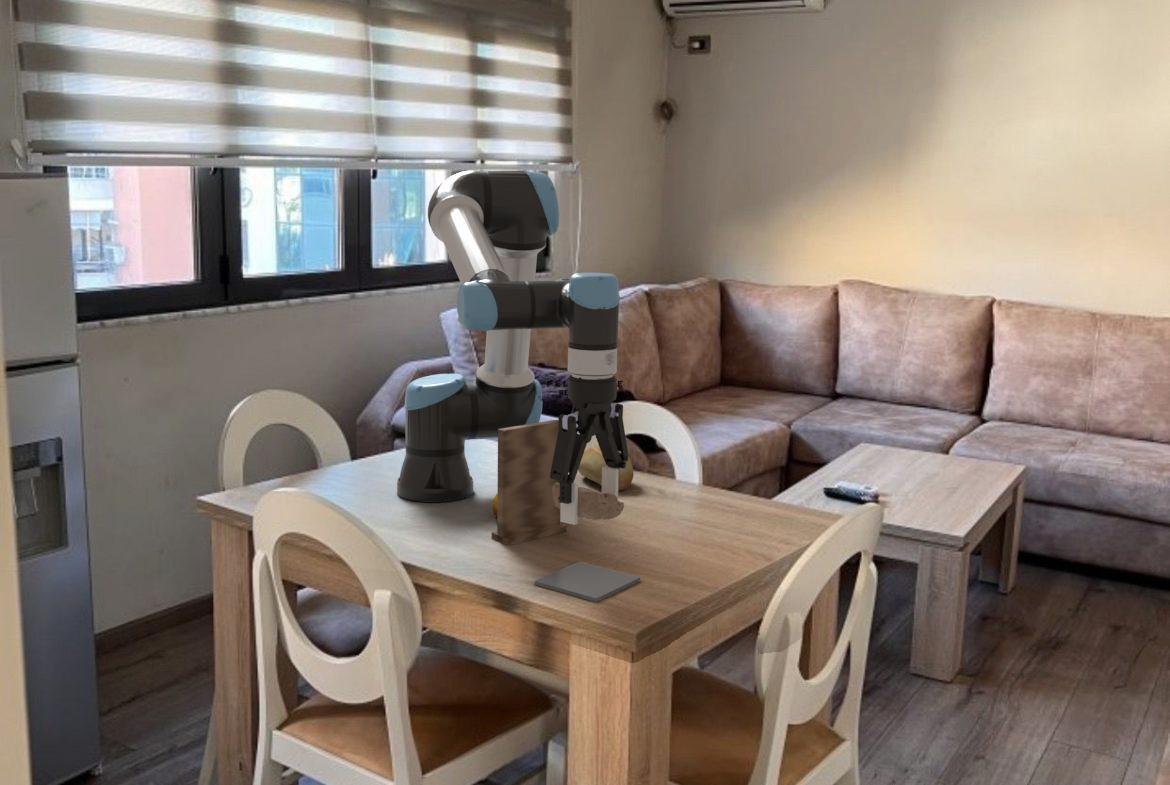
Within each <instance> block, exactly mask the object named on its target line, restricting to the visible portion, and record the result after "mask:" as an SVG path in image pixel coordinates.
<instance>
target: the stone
mask: <svg viewBox="0 0 1170 785" xmlns="http://www.w3.org/2000/svg"><path fill="white" fill-rule="evenodd" d="M552 494H553V499H554V502H555V506H556V507H557V508H559V509H560V506H561V502H560V500H559V498H560V483H555V485H554V486H553V488H552ZM624 508H625V504H624V502H623V501H619V499H618V500H617V497H616V496H615V495H614V494H613V493H602V491H597V490H592V489H591V488H587V487H582V486H578V513H577V517H579V518H584V519H588V520H592V521H597V520H599V521H600V520H604V521H605V520H612V519H614V518H617V517H619V516H620V515H621V513H622V512H623V510H624Z"/></svg>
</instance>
